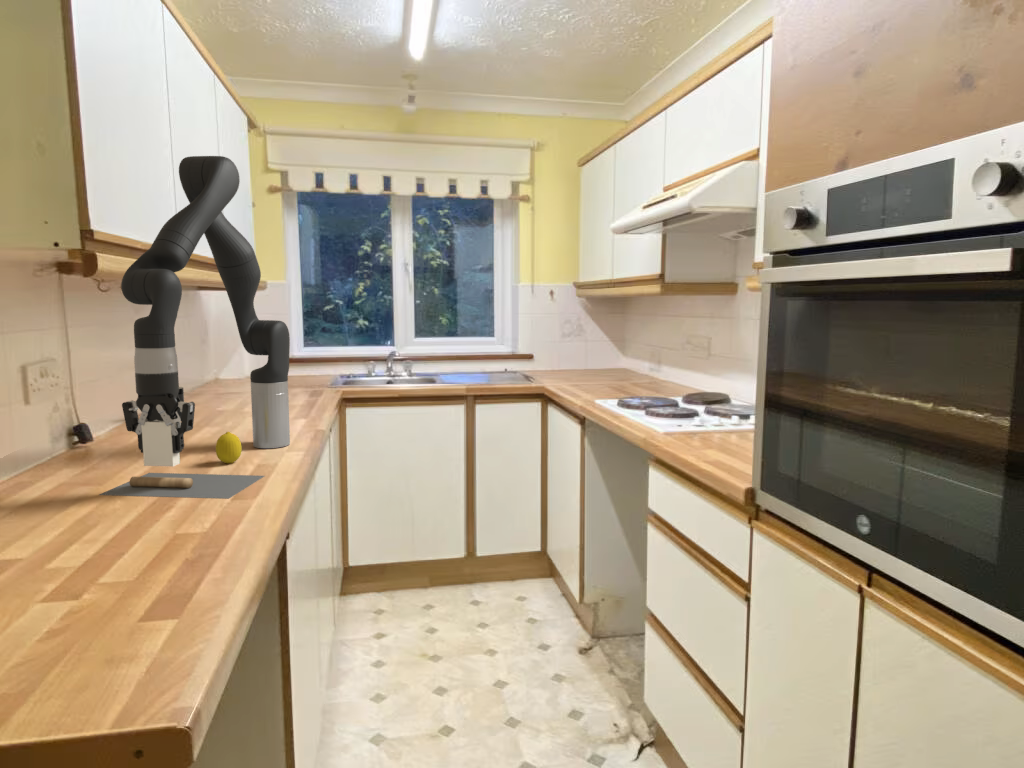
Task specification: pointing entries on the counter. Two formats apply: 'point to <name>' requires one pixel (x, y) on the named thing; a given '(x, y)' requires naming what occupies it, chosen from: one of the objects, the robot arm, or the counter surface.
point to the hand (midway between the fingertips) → (161, 452)
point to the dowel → (161, 482)
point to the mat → (200, 489)
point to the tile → (158, 444)
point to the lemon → (228, 448)
